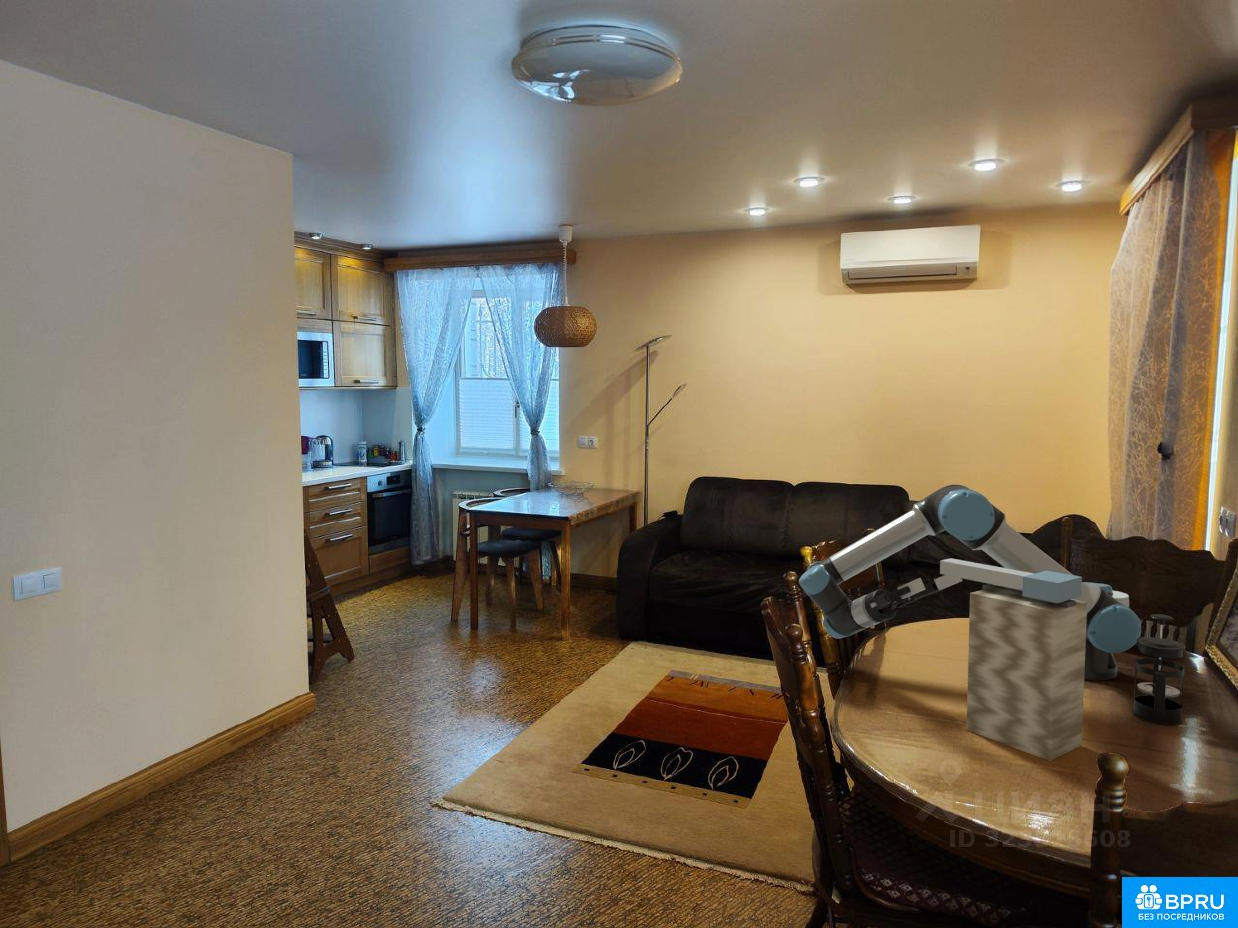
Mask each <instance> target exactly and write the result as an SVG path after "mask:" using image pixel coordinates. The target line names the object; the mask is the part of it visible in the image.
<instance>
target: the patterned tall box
mask: <svg viewBox="0 0 1238 928" xmlns="http://www.w3.org/2000/svg"><path fill="white" fill-rule="evenodd" d="M968 619H969V621H968V624H969V625H968V657H967V658H968V660H967V662H968V663H967V691H966V693H967V698H966V699H967V700H966V731H969V732H971V733H974V734H977V735H980V736H982V737H985V738H988V739H990V740H993V741H995V742H998V743H1001V744H1003V745H1007V746H1009V747H1012V748H1014V749H1017V750H1019V751H1022V752H1024V753H1027V754H1031V755H1033V756H1036V757H1038V758H1041V759H1043V760H1047V761H1049V762H1051V761H1053V760H1055V759H1057V758H1059V757H1062V756H1064V755H1066V754H1068V753H1070V752H1072V751H1074V750H1075V749H1078V748H1080V747H1081V746H1083V745H1082V744H1083V722H1084V721H1083V719H1084V717H1083V715H1084V693H1085V679H1084V672H1085V646H1086V621H1087V602H1084V601H1079V600H1074V599H1070V600H1067V601H1064V602H1060V603H1053V602H1049V601H1044V600H1039V599H1034V598H1029V597H1025V596H1022V590H1018V589H1013V588H1008V587H1003V586H998V585H993V584H988V583H985V584H983V585H982V589H981V590H977V591H973V592H972V591H971V592H970V593H969V617H968Z"/></svg>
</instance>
